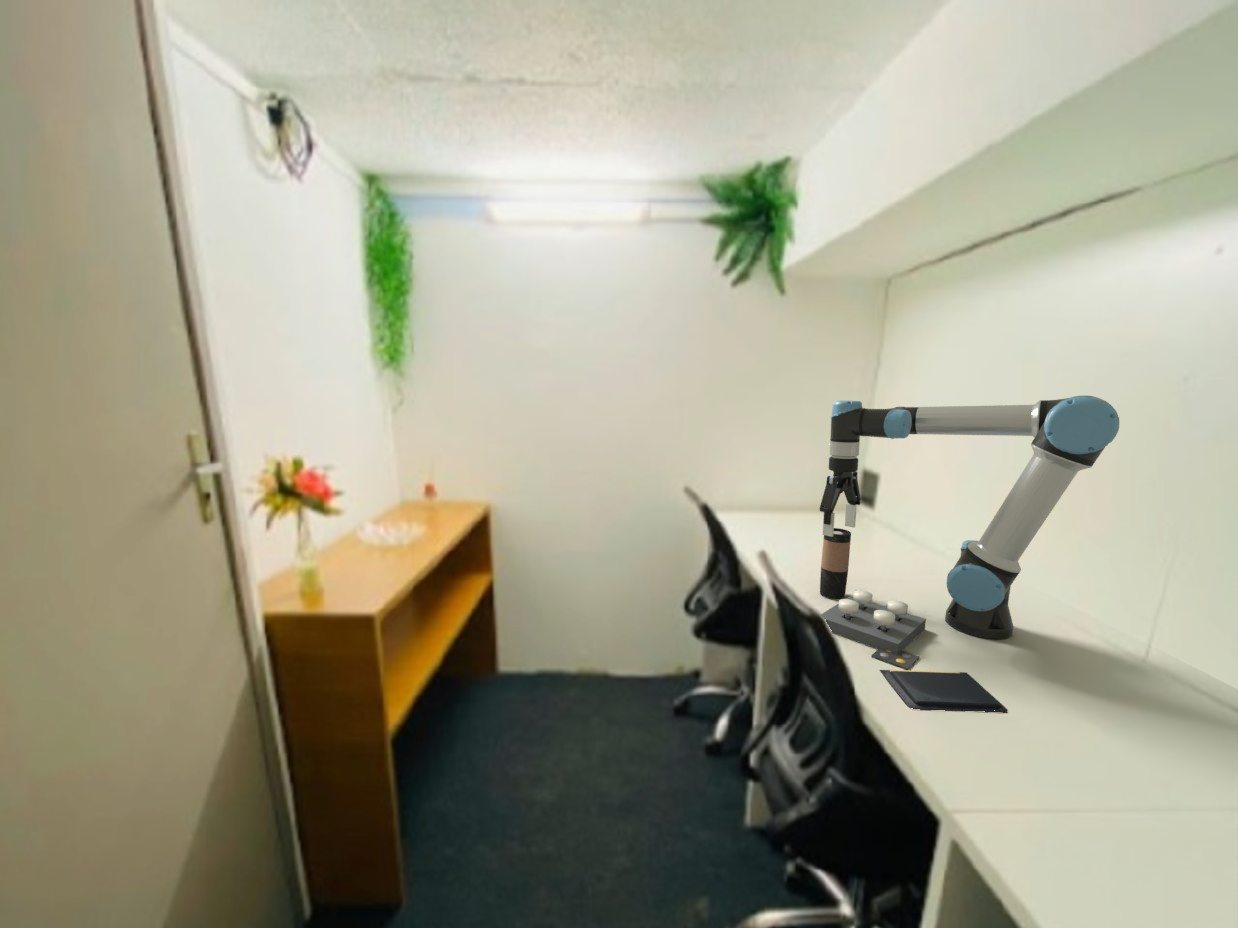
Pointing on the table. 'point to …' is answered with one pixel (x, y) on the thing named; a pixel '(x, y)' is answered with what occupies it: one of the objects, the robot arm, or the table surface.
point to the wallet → (941, 691)
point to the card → (896, 658)
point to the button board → (875, 627)
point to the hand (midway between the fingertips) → (839, 531)
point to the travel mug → (835, 564)
